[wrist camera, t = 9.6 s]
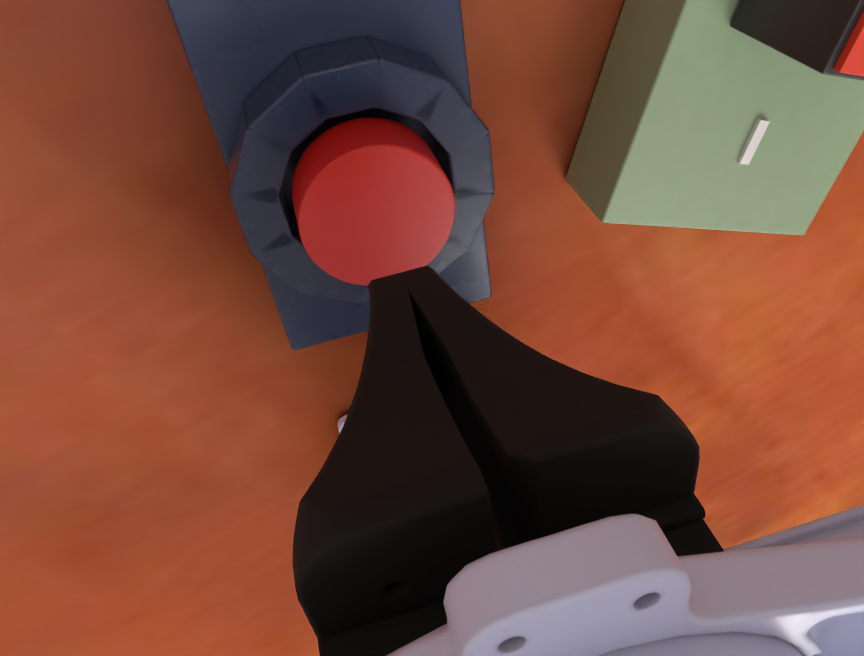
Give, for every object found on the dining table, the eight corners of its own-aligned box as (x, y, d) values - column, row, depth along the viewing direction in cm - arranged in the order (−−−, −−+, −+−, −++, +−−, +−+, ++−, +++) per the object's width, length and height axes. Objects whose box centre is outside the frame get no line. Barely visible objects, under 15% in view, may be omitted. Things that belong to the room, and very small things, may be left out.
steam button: (447, 231, 21) (464, 264, 19) (312, 267, 20) (320, 302, 19) (427, 100, 18) (445, 127, 17) (273, 137, 18) (278, 168, 16)
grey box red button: (478, 270, 26) (509, 329, 23) (288, 321, 25) (298, 388, 23) (432, -111, 18) (472, -88, 15) (155, -53, 17) (148, -18, 15)
